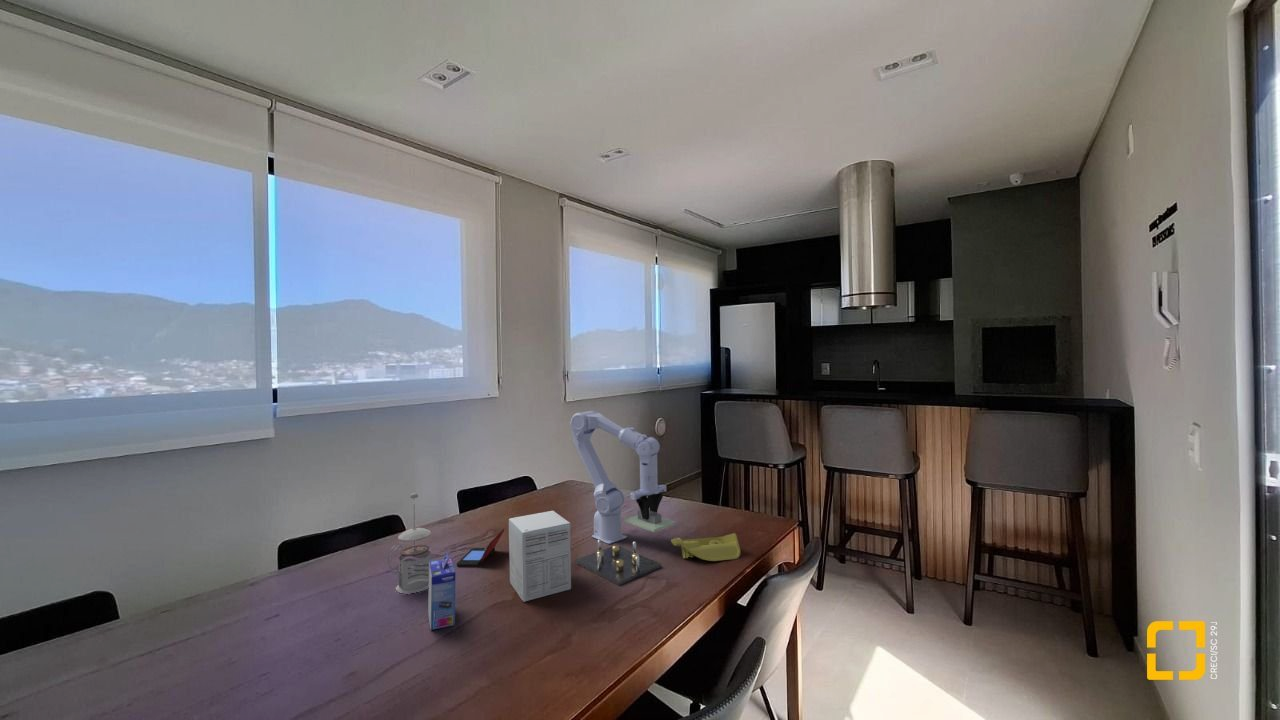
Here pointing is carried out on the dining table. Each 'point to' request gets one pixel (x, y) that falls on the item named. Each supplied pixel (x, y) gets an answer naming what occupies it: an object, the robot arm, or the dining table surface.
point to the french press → (413, 560)
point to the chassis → (618, 563)
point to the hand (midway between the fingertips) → (649, 517)
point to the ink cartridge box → (441, 593)
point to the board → (649, 525)
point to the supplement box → (539, 555)
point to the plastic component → (710, 547)
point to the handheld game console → (479, 554)
